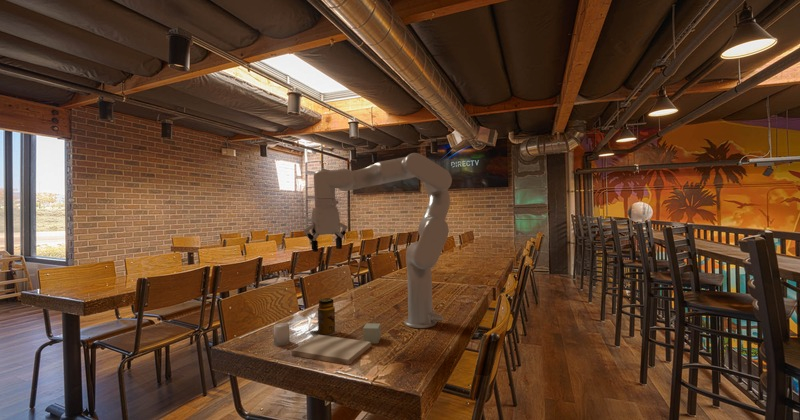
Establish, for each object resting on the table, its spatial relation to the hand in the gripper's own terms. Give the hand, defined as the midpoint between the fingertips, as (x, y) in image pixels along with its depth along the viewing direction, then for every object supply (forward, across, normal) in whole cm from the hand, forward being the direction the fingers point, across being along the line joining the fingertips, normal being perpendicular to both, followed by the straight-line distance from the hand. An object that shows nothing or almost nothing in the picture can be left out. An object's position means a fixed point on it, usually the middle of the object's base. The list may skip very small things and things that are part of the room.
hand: (327, 250), depth 124 cm
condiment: (+30, +3, 0) cm, 30 cm away
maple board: (+30, +8, +17) cm, 35 cm away
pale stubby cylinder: (+30, +18, -1) cm, 35 cm away
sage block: (+30, -6, +18) cm, 36 cm away
